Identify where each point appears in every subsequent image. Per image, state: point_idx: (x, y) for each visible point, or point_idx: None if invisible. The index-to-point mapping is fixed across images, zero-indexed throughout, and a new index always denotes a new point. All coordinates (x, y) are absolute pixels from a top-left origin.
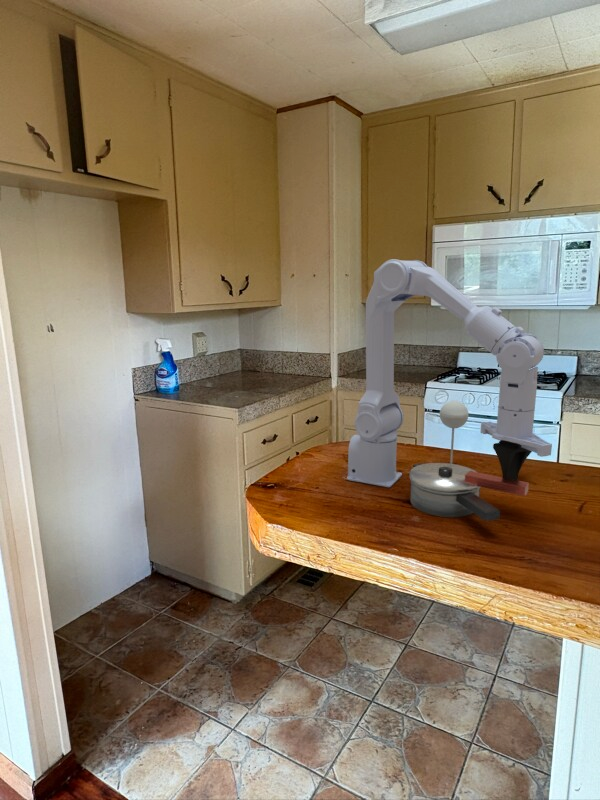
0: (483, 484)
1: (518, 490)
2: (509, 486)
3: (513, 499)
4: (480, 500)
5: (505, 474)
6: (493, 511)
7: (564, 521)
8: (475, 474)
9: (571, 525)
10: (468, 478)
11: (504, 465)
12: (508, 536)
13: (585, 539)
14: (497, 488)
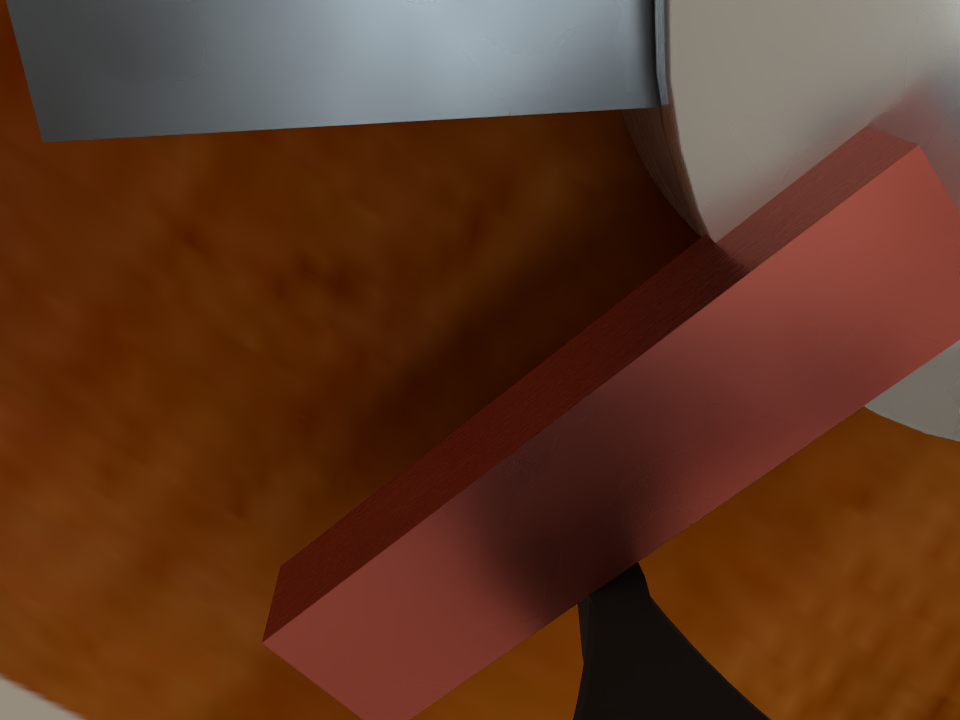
0: (650, 300)
1: (325, 562)
2: (398, 518)
3: (736, 587)
4: (380, 76)
5: (603, 622)
6: (17, 40)
7: (313, 687)
8: (856, 305)
9: (248, 692)
10: (847, 173)
11: (638, 707)
12: (136, 187)
13: (40, 657)
14: (506, 405)
